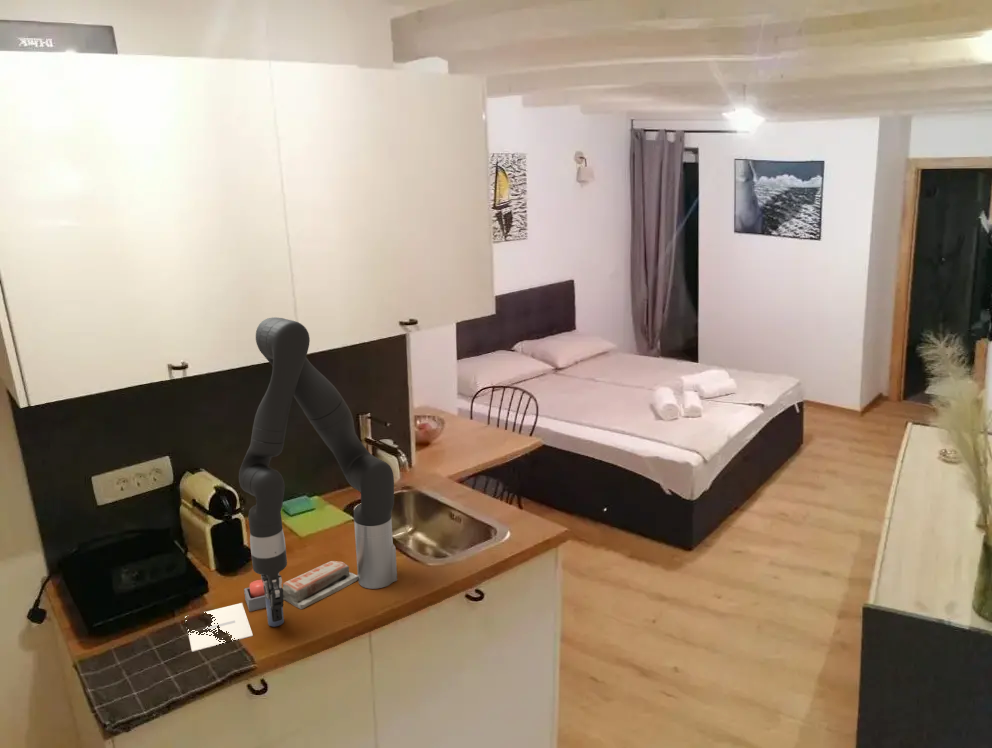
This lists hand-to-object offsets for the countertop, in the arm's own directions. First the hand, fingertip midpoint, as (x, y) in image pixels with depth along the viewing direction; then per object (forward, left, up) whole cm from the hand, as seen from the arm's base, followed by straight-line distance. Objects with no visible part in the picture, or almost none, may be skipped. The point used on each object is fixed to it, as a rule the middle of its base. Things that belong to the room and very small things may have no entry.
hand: (275, 615), depth 181 cm
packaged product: (-13, -11, -3) cm, 17 cm away
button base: (+2, -11, -2) cm, 11 cm away
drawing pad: (+12, -5, -2) cm, 13 cm away
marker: (0, 0, -2) cm, 2 cm away
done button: (+2, -11, 0) cm, 11 cm away
